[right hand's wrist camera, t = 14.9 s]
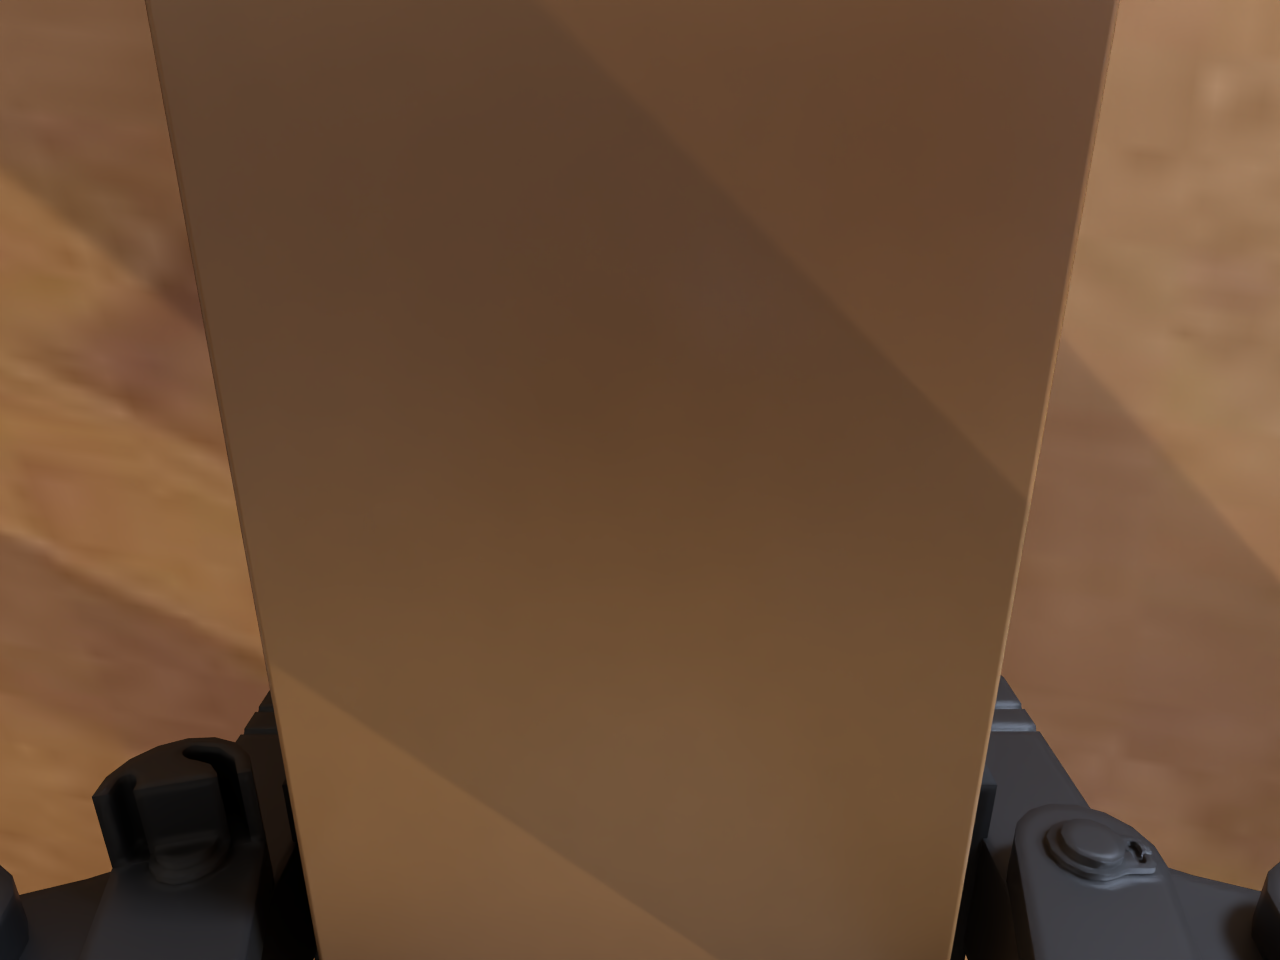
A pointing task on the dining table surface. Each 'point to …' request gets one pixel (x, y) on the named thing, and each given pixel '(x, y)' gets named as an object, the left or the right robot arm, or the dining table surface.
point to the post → (633, 445)
